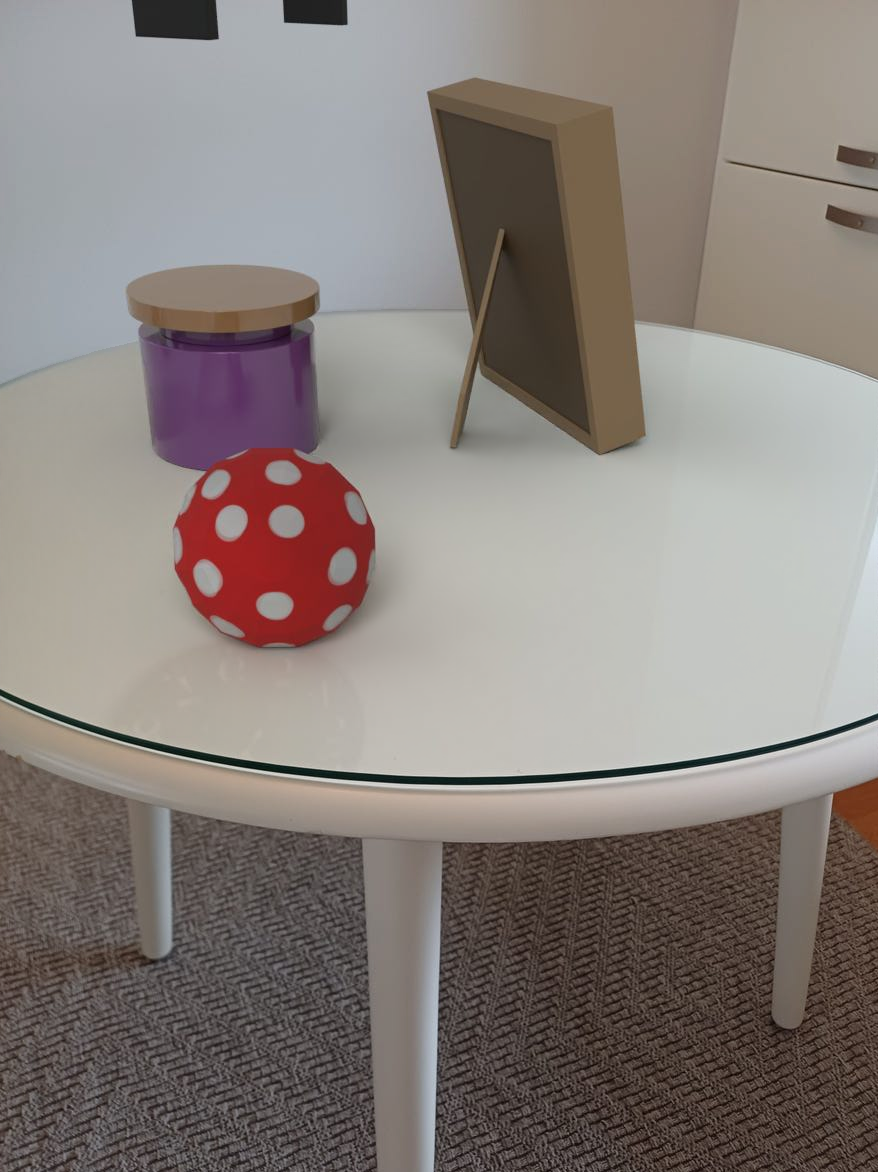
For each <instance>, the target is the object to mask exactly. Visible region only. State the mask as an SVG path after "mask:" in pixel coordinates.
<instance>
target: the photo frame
mask: <svg viewBox="0 0 878 1172" xmlns="http://www.w3.org/2000/svg"><path fill="white" fill-rule="evenodd" d="M426 94H427V100H428V105H429V110H430V115H431V120H432V126H433V131H434V135H435V136H434V137H435V141H436V147H437V153H438V159H439V162H440V168H441V173H442V178H443V183H444V189H445V194H446V198H447V205H448V210H449V214H450V219H451V226H452V230H453V235H454V241H455V246H456V251H457V252H456V253H457V257H458V263H459V267H460V272H461V278H462V282H463V288H464V294H465V299H466V303H467V310H468V315H469V318H470V319H469V320H470V325H471V329H472V330H471V331H472V333H473V334H472V335H473V337H472V341H471V344H470V349H469V353H468V357H467V361H466V366H465V369H464V375H463V377H462V383H461V386H460V389H459V390H460V391H459V394H458V400H457V406H456V410H455V411H456V412H455V416H454V421H453V422H454V423H453V427H452V433H451V438H450V444H449V447H450V448H454V449H456V447H457V445H458V443H459V440H460V438H461V436H462V434H463V431H464V429H465V428H464V427H465V423H466V418H467V415H468V409H469V404H470V400H471V395H472V391H473V386H474V382H475V377H476V372H477V367H479V372H480V375H482V376H483V377H484V376H485V378H486V379H487V380H489V381H490V382H492V383H493V384H494V385H496V386H498V387H499V388H501V390H504V391H505V392H507V393H508V394H509V395H511V396H513V397H514V398H515V399H516V400H518V401H519V402H521V403H522V404H524V405H525V406H527V407H528V408H530V409H531V410H532V411H534V412H536V413H537V414H539V415H540V416H541V417H543V418H544V419H546V420H548V421H549V422H550V423H552V424H553V425H554V426H556V427H558V428H559V429H560V430H562V431H563V432H565V433H567V434H568V435H569V436H571V437H572V438H574V439H575V440H577V441H578V442H580V443H581V444H583V445H584V446H585V447H587V448H589V449H590V450H591V451H593V452H594V453H595V454H597V455H598V456H599V455H602V454H605V453H608V452H610V451H613V450H615V449H617V448H620V447H622V446H625V445H627V444H629V443H632V442H635V441H637V440H640V439H643V438H644V437H647V434H646V424H645V423H646V422H645V413H644V404H643V395H642V394H643V393H642V384H641V375H640V373H641V372H640V364H639V355H638V345H637V344H638V343H637V335H636V326H635V325H636V323H635V314H634V306H633V305H634V304H633V295H632V285H631V276H630V274H631V273H630V266H629V265H630V264H629V255H628V246H627V236H626V226H625V216H624V215H625V214H624V208H623V207H624V205H623V196H622V188H621V187H622V186H621V177H620V168H619V167H620V166H619V157H618V148H617V147H618V146H617V140H616V139H617V138H616V128H615V119H614V108H613V106H610V105H607V104H600V103H596V102H592V101H587V100H582V99H579V98H573V97H568V96H563V95H560V94H555V93H550V92H545V91H540V90H535V89H531V88H526V87H522V86H517V85H512V84H507V83H503V82H498V81H494V80H489V79H483V78H478V77H471V78H468V79H464V80H460V81H457V82H454V83H450V84H447V85H443V86H441V87H437V88H433V89H430V90H427V91H426Z"/></svg>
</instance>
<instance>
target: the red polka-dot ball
mask: <svg viewBox="0 0 878 1172" xmlns="http://www.w3.org/2000/svg"><path fill="white" fill-rule="evenodd" d="M172 543H173V560H174V561H173V562H174V563H173V565H174V571H175V573H176V576H177V578H178V580H179V582H180V584H181V586H182V589H183V590H184V593H185V595H186V597H187V599H188V601H189V603H190V605H191V607H193V608H194V609H195V610H196V611H197V612H198V613H199V614H200V615H201V616H202V617H203V618H204V619H205V620H207V621H208V622H209V623H210V624H211V625H212V626H213V627H214V628H215V629H217V630H218V631H219V632H220V634H223V635H226V636H228V637H232V638H233V639H236V640H239V641H242V642H244V643H247V644H249V645H251V646H254V647H256V648H257V647H258V648H281V647H282V648H291V647H292V648H295V647H297V648H298V647H301V646H302V645H305V644H307V643H310V642H312V641H314V640H317V639H320V638H322V637H324V636H327V635H329V634H331V633H334V632H335V631H336V630H338V628H339V627H340V626H341V625H342V624H343V623H344V622H345V621H346V620H347V619H348V618H349V617H350V616H351V615H352V614H353V613H354V612H355V611H356V610H357V609H358V608H359V607H360V606H361V605H362V603H363V601H364V599H365V596H366V593H367V591H368V588H369V586H370V584H371V580H372V578H373V576H374V574H375V571H376V568H377V566H376V562H377V561H376V560H377V559H376V528H375V525H374V523H373V520H372V518H371V515H370V514H369V511H368V509H367V507H366V504H365V502H364V500H363V497H362V495H361V493H360V491H359V490H358V489H357V488H356V487H355V486H354V485H353V484H352V483H351V482H350V481H349V480H348V479H347V478H346V477H345V476H344V475H343V474H342V473H341V472H340V471H339V470H338V469H337V468H336V467H335V466H334V465H333V464H331V462H328V461H326V460H323V459H321V458H319V457H316V456H313V455H311V454H310V453H309V454H306V453H304V452H301V451H299V450H297V449H294V448H250V449H248V450H245V451H243V452H241V453H238V454H236V455H233V456H231V457H229V458H226V459H224V460H221V461H219V462H217V463H214V464H213V465H212V466H211V468H210V469H209V470H208V471H207V470H206V472H205V473H204V474H202V476H201V477H200V478H199V479H198V480H196V481H195V482H194V484H193V485H192V486H191V487H190V488H189V489H188V490H187V491H186V493H185V496H184V498H183V501H182V504H181V506H180V509H179V512H178V514H177V518H176V519H175V523H174V525H173V528H172Z"/></svg>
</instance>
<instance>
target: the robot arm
mask: <svg viewBox="0 0 878 1172" xmlns="http://www.w3.org/2000/svg"><path fill="white" fill-rule="evenodd" d="M131 6H132V16H133V26H134V34H135V37H136V38H137V37H138V38H155V39H174V40H192V41H193V40H194V41H195V40H196V41H216V40H220V34H219V22H218V21H219V20H218V10H217V9H218V8H217V0H131ZM282 9H283V10H282V12H283V23H284V24H300V25H301V24H302V25H322V26H348V25H349V23H348V22H349V21H348V0H282Z"/></svg>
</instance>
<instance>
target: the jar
mask: <svg viewBox="0 0 878 1172" xmlns="http://www.w3.org/2000/svg"><path fill="white" fill-rule="evenodd" d="M320 288H321V287H320V284H319V282H318V281H317V280H316V279H315V278H313V277H311V276H310V275H307V274H304V273H302V272H299V271H295V270H291V269H286V268H281V267H274V266H264V265H255V264H253V265H252V264H205V265H191V266H184V267H183V266H182V267H175V268H170V269H165V270H164V269H163V270H160V271H155V272H151V273H148V274H145V275H142V276H139V277H137V278H135V279H133V280H131V281H130V282H129V283H128V284H127V286H126V287H125V297H126V306H127V310H128V313H129V315H130V316H131V317H132V318H133V319H135V320H136V321H138V322H140V323H141V324H140V325H139V326H138V329H137V336H138V337H137V338H138V343H139V352H140V359H141V360H140V361H141V367H142V375H143V383H144V391H145V397H146V399H145V400H146V407H147V415H148V424H149V430H150V438H151V447H152V449H153V452H154V453H156V455H157V456H159V458H161V459H162V460H165V461H166V462H169V463H171V464H173V465H176V466H181V467H183V468H188V469H193V470H199V471H206V472H207V471H208V470H209V469H210V468H211V466H212V465H213V464H214V463H217V462H219V461H221V460H224V459H226V458H229V457H231V456H233V455H236V454H238V453H241V452H243V451H245V450H248V449H250V448H294V449H297V450H299V451H301V452H304V453H306V454H309V455H310V453H311V452H313V451H314V450H315V449H316V448H317V447H318V445H319V442H320V438H321V437H320V436H321V435H320V418H319V417H320V416H319V415H320V414H319V394H318V393H319V392H318V391H319V390H318V372H317V371H318V370H317V349H316V326H315V324H314V322H313V321H312V320H311V319H310V318H312V317H313V316H315V315H316V314H317V313H318V312H319V311H320V308H321V290H320Z"/></svg>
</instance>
